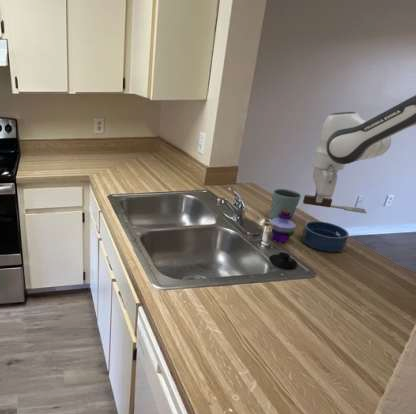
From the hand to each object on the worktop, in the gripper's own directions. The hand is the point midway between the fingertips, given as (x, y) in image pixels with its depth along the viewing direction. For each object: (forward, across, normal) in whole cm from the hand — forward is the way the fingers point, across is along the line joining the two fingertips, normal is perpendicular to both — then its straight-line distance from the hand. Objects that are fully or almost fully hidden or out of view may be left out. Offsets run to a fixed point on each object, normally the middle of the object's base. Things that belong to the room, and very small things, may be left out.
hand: (317, 200), depth 115 cm
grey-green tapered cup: (+17, +18, +8) cm, 26 cm away
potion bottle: (+17, -2, +9) cm, 19 cm away
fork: (+2, 0, -4) cm, 4 cm away
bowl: (+17, +1, -5) cm, 18 cm away
